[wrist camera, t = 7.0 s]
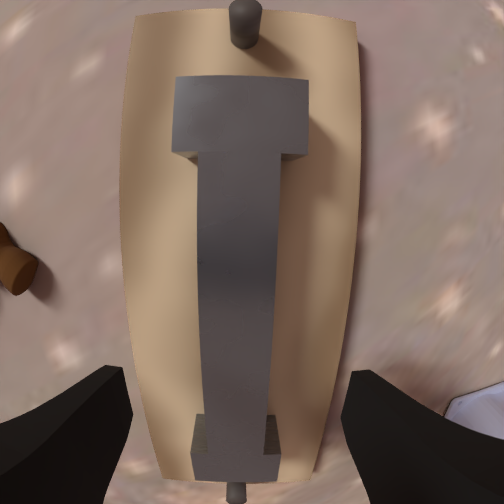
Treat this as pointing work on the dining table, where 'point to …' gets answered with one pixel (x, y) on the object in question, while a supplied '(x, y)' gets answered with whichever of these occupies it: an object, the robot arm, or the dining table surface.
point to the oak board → (289, 230)
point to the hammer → (15, 265)
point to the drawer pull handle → (237, 257)
